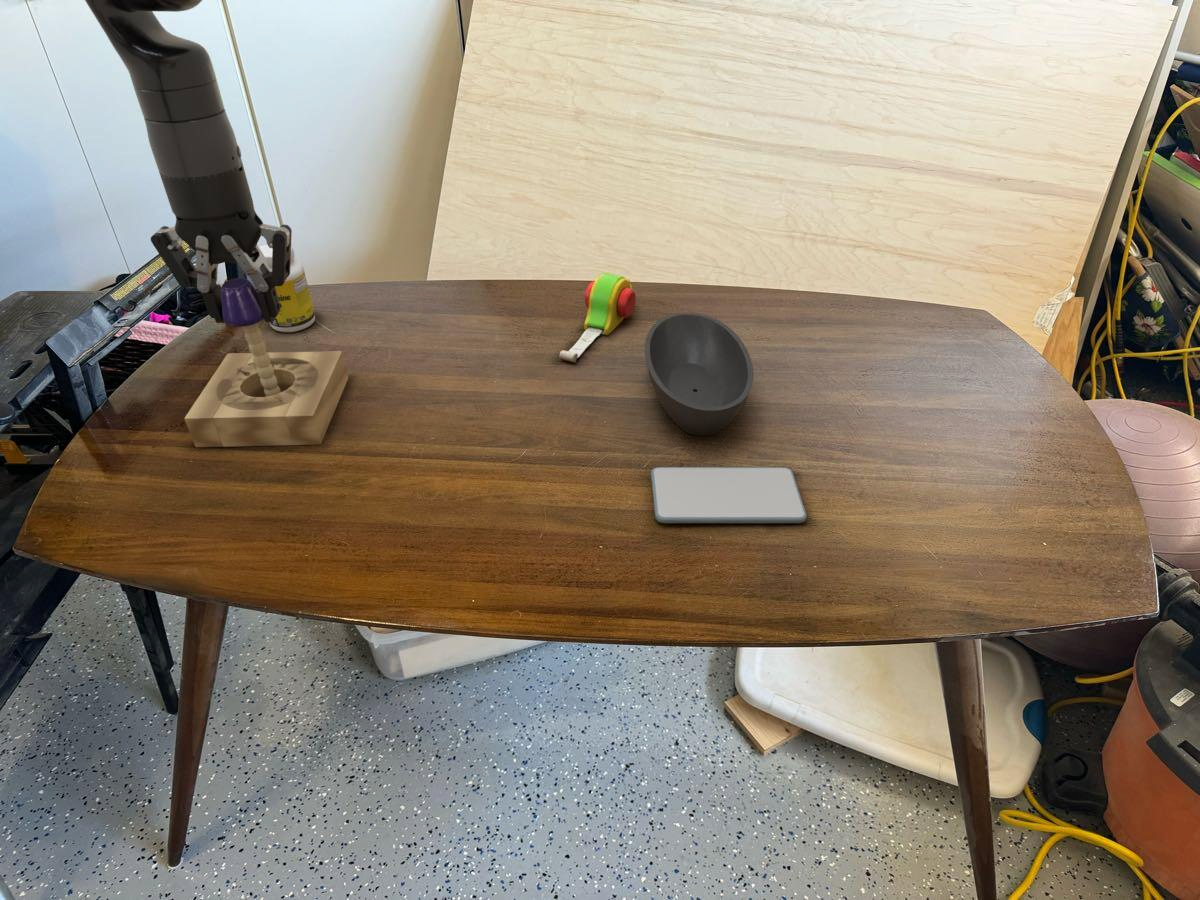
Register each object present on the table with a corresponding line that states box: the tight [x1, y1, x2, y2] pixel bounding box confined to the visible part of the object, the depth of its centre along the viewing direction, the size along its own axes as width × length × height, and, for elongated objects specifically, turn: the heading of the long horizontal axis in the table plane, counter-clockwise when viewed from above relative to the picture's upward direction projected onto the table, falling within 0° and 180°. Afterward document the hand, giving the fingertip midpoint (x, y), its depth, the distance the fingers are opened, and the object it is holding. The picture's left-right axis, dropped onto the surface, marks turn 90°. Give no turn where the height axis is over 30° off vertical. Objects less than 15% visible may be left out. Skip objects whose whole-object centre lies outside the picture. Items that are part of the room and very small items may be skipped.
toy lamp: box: [221, 277, 281, 397], centre depth 90 cm, size 5×5×17 cm
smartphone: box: [650, 466, 808, 524], centre depth 81 cm, size 8×1×15 cm
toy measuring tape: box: [558, 272, 637, 363], centre depth 108 cm, size 6×20×7 cm, turn 154°
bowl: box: [644, 312, 754, 437], centre depth 94 cm, size 12×22×6 cm, turn 3°
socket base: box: [183, 350, 349, 448], centre depth 94 cm, size 14×14×4 cm
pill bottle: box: [258, 243, 316, 333], centre depth 109 cm, size 6×6×11 cm
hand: (247, 318), depth 87 cm, fingers closed on toy lamp, 4 cm apart
